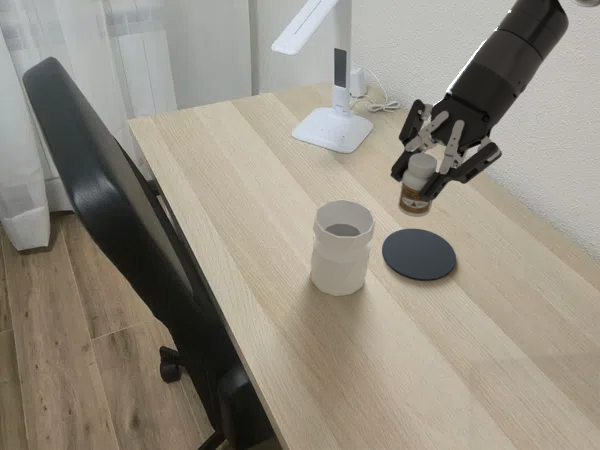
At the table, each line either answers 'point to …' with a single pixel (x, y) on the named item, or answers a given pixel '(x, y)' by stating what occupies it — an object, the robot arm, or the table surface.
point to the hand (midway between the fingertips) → (408, 188)
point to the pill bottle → (416, 185)
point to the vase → (341, 246)
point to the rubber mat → (418, 254)
